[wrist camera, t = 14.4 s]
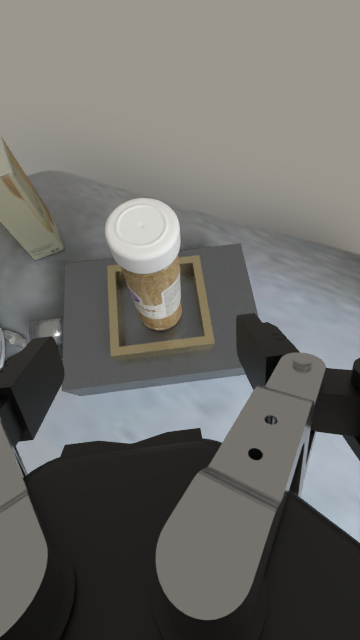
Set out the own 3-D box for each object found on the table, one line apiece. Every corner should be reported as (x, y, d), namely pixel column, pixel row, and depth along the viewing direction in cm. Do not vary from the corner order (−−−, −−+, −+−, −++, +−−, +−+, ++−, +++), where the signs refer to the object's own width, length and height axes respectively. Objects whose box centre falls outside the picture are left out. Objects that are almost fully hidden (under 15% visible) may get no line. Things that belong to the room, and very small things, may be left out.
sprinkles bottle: (130, 315, 29) (86, 231, 16) (157, 284, 30) (136, 183, 18) (164, 340, 28) (146, 271, 15) (191, 307, 29) (195, 217, 16)
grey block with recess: (233, 266, 36) (244, 232, 30) (257, 372, 32) (276, 359, 25) (49, 288, 36) (18, 258, 29) (44, 400, 31) (6, 394, 24)
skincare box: (65, 250, 38) (14, 174, 26) (34, 262, 37) (-32, 190, 26) (53, 215, 40) (0, 132, 28) (23, 226, 39) (-43, 145, 28)
